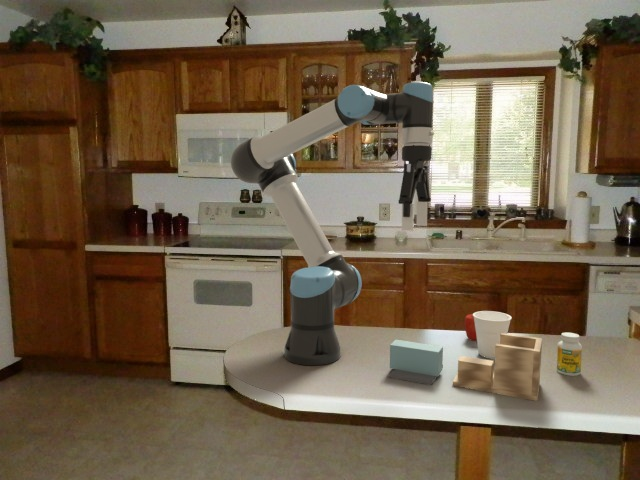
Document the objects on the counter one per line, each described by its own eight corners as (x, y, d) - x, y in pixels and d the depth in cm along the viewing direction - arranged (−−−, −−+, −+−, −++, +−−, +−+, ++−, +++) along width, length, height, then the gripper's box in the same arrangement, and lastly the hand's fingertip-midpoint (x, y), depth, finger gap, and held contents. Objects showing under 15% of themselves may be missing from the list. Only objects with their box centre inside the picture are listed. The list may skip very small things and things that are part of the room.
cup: (512, 363, 130) (514, 321, 128) (473, 360, 132) (474, 319, 130) (506, 350, 139) (508, 311, 138) (469, 347, 141) (471, 310, 140)
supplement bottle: (578, 369, 125) (580, 332, 124) (582, 377, 120) (585, 339, 119) (554, 367, 127) (557, 330, 126) (558, 375, 122) (560, 336, 121)
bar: (389, 368, 124) (390, 344, 123) (395, 362, 128) (395, 339, 127) (438, 376, 119) (438, 352, 118) (442, 370, 123) (442, 346, 122)
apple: (489, 339, 149) (490, 314, 148) (480, 344, 144) (481, 319, 143) (470, 334, 153) (470, 311, 152) (460, 339, 149) (461, 314, 148)
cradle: (452, 385, 115) (454, 339, 114) (460, 370, 124) (462, 327, 123) (537, 400, 107) (539, 351, 106) (539, 383, 116) (542, 338, 115)
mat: (389, 377, 120) (389, 374, 120) (404, 361, 131) (404, 358, 131) (431, 385, 116) (431, 381, 116) (442, 367, 126) (442, 364, 126)
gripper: (418, 141, 115) (415, 233, 118) (442, 147, 138) (440, 224, 140) (387, 142, 119) (385, 231, 121) (415, 148, 141) (413, 223, 143)
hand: (414, 227), depth 131 cm, fingers open, 13 cm apart
